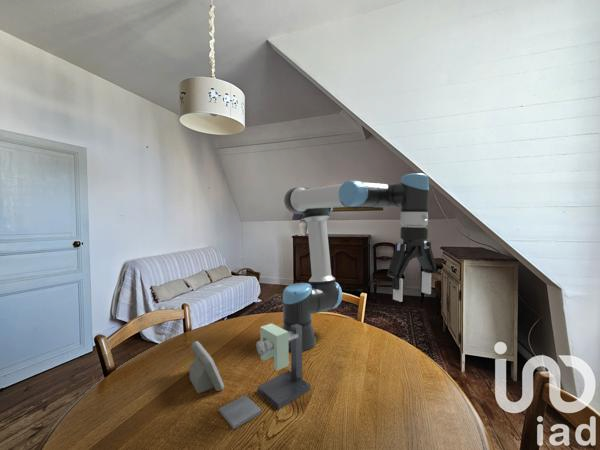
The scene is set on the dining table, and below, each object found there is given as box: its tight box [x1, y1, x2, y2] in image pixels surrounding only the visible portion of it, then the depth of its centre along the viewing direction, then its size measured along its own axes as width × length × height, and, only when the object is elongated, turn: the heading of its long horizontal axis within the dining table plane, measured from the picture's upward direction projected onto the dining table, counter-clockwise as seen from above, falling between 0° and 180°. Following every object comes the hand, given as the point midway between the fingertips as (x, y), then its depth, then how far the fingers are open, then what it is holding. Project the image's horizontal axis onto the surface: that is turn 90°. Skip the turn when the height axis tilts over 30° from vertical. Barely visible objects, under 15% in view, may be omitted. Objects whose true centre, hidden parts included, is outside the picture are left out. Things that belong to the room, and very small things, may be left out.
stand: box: [255, 324, 311, 410], centre depth 77 cm, size 10×14×18 cm
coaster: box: [218, 394, 262, 430], centre depth 70 cm, size 8×8×1 cm
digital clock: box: [188, 340, 225, 394], centre depth 83 cm, size 16×9×11 cm, turn 26°
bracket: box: [259, 323, 290, 372], centre depth 75 cm, size 8×4×10 cm, turn 42°
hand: (412, 296), depth 80 cm, fingers open, 13 cm apart
